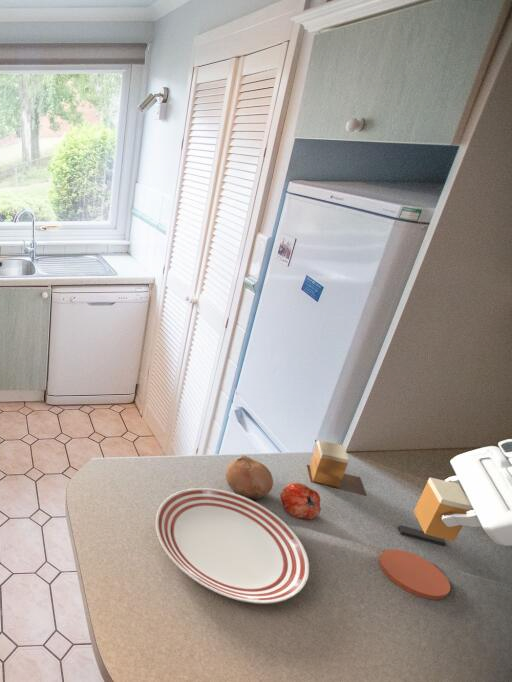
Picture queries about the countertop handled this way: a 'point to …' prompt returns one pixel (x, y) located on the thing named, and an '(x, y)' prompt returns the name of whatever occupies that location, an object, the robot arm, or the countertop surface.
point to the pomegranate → (300, 501)
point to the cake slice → (441, 508)
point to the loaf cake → (333, 468)
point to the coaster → (414, 574)
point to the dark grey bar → (420, 535)
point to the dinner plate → (232, 545)
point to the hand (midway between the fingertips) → (437, 506)
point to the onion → (249, 478)
